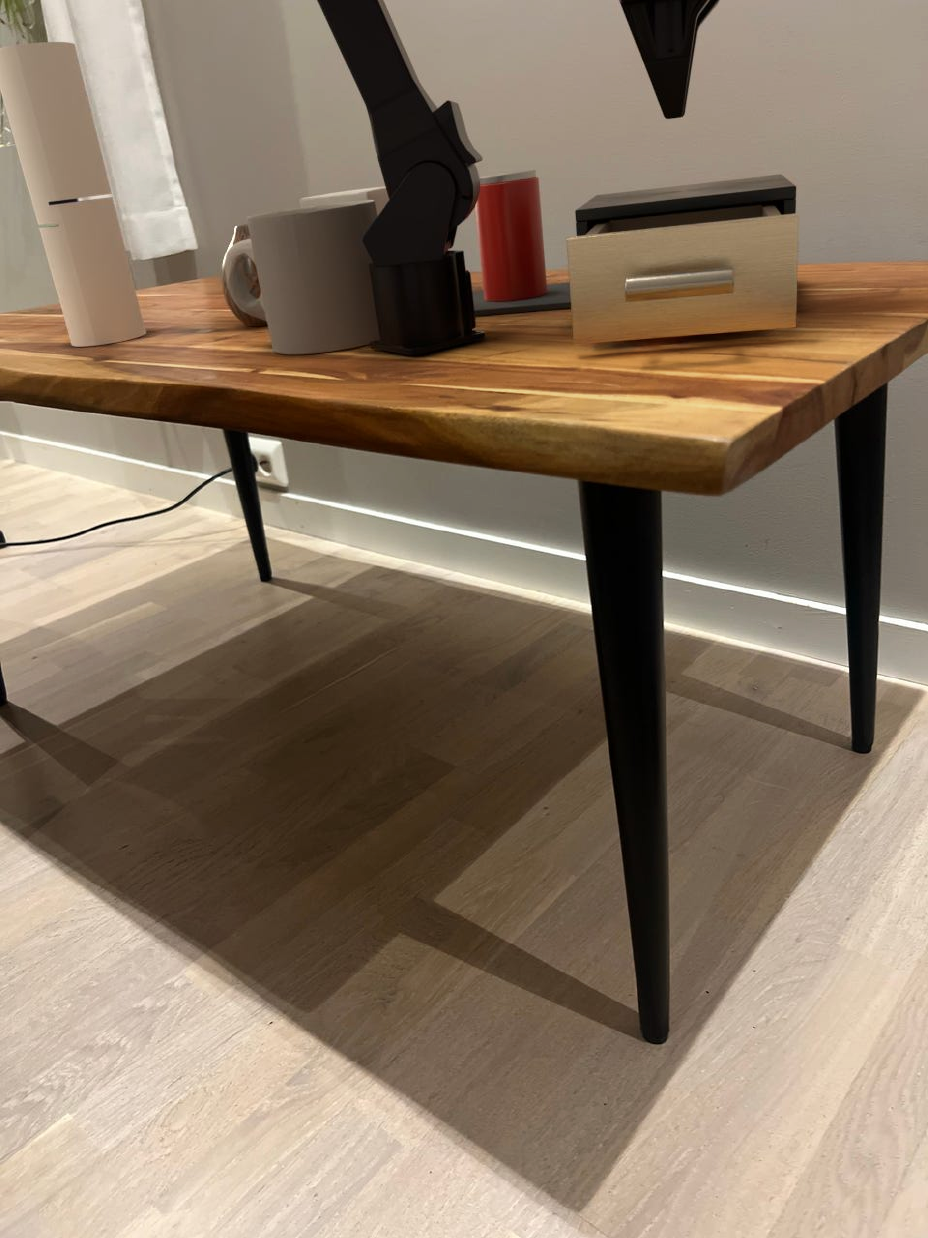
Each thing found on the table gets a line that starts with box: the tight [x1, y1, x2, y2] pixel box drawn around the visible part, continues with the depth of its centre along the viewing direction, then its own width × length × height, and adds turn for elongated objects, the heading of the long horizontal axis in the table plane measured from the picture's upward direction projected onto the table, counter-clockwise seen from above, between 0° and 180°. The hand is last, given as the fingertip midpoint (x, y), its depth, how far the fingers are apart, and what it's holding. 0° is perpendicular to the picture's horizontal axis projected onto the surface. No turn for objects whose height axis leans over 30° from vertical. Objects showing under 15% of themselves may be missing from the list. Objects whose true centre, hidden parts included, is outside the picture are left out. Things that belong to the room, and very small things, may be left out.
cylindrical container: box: [0, 41, 147, 348], centre depth 92 cm, size 7×7×25 cm
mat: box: [472, 281, 571, 317], centre depth 88 cm, size 12×12×1 cm
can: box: [474, 169, 548, 302], centre depth 86 cm, size 6×6×10 cm
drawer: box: [566, 202, 800, 345], centre depth 64 cm, size 18×13×6 cm
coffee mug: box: [224, 200, 380, 355], centre depth 79 cm, size 13×10×10 cm
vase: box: [220, 223, 268, 327], centre depth 93 cm, size 7×7×9 cm
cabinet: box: [574, 174, 797, 236], centre depth 75 cm, size 15×15×8 cm
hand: (675, 117), depth 66 cm, fingers open, 6 cm apart
